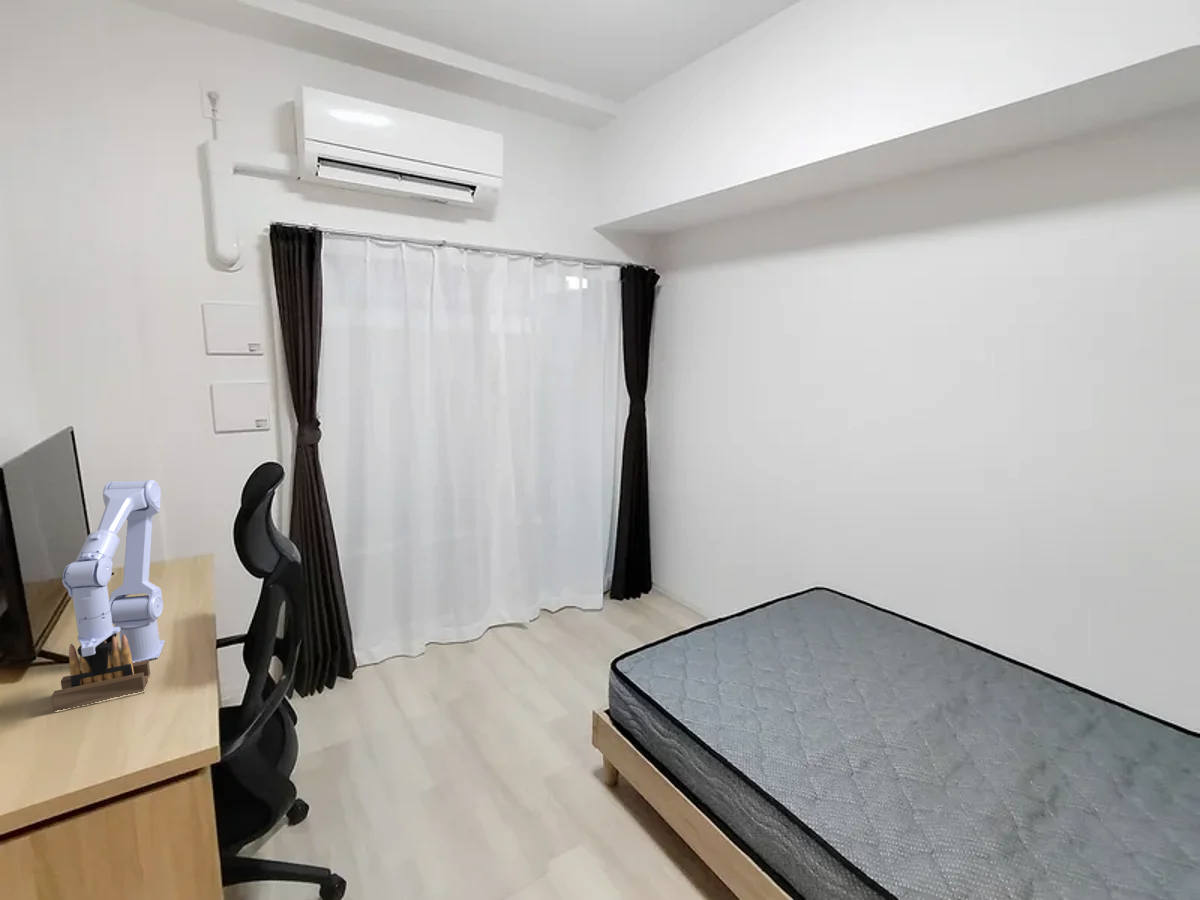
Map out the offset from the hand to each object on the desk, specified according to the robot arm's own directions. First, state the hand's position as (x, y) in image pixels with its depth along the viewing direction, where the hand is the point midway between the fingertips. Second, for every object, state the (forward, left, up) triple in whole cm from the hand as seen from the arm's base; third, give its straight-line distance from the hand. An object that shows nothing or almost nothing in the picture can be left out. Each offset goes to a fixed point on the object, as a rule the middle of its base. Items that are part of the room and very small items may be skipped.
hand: (101, 670), depth 126 cm
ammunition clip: (0, 0, -5) cm, 5 cm away
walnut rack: (0, 0, -5) cm, 5 cm away
